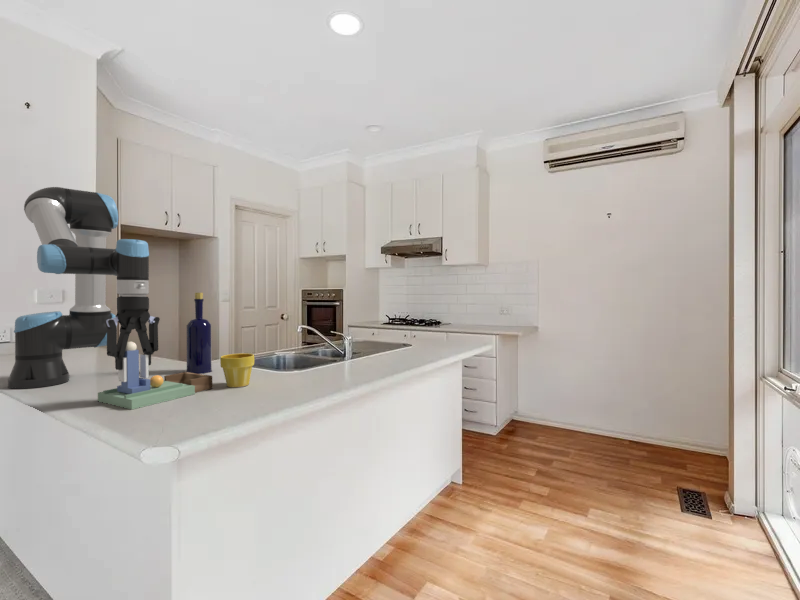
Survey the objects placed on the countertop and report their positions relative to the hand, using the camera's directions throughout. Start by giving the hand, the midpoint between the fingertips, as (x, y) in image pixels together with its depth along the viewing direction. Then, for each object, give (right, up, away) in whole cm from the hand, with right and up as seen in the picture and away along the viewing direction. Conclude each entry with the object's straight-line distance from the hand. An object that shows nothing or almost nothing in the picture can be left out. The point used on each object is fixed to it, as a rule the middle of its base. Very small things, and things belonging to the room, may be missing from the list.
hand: (133, 379), depth 114 cm
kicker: (0, -4, 0) cm, 4 cm away
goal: (+8, -6, +15) cm, 18 cm away
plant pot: (+21, -6, +19) cm, 29 cm away
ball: (+3, -2, +6) cm, 7 cm away
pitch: (+2, -6, +4) cm, 7 cm away
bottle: (-2, -5, +42) cm, 42 cm away
